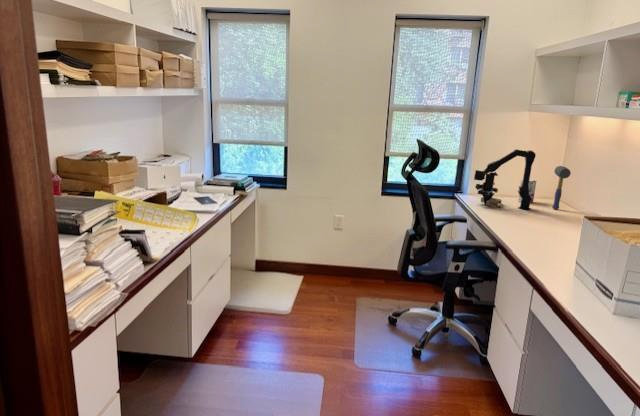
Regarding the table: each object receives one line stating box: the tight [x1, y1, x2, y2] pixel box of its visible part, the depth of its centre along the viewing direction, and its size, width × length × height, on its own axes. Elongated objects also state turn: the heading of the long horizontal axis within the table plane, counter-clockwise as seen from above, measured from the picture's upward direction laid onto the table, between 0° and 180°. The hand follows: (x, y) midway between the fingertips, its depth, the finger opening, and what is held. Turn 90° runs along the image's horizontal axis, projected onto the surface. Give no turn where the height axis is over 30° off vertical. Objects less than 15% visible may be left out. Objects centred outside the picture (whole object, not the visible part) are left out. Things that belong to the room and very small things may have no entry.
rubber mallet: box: [552, 165, 572, 211], centre depth 297 cm, size 12×8×30 cm, turn 168°
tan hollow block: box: [487, 198, 503, 209], centre depth 301 cm, size 7×6×4 cm
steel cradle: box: [480, 196, 502, 203], centre depth 312 cm, size 8×11×3 cm
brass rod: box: [483, 201, 502, 208], centre depth 302 cm, size 11×3×3 cm, turn 44°
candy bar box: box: [518, 179, 537, 204], centre depth 316 cm, size 11×5×16 cm, turn 119°
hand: (486, 203), depth 305 cm, fingers closed on brass rod, 3 cm apart
